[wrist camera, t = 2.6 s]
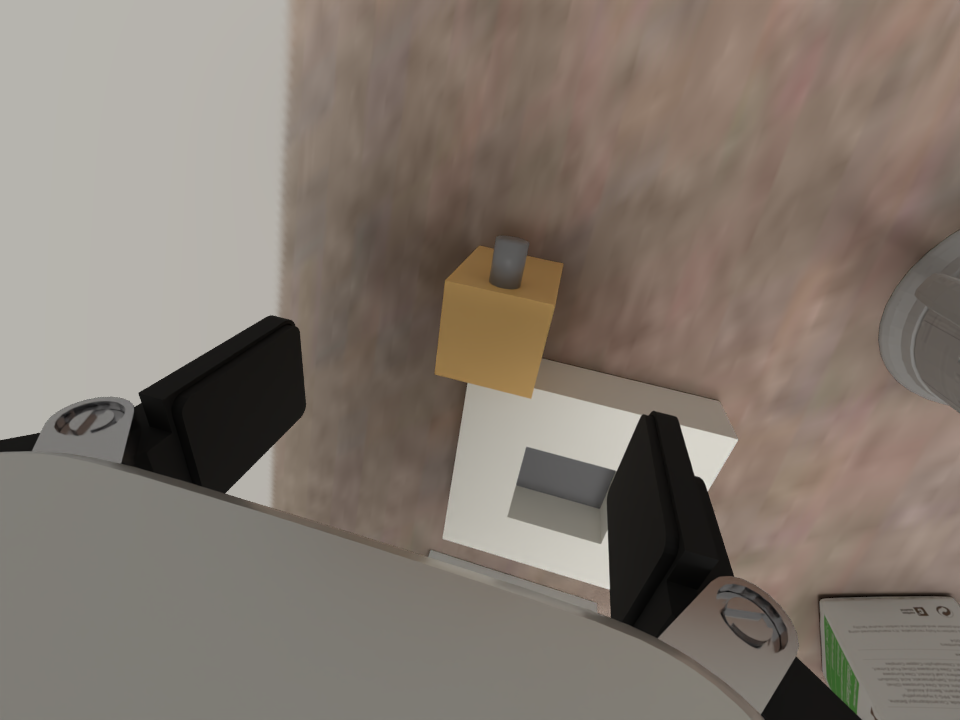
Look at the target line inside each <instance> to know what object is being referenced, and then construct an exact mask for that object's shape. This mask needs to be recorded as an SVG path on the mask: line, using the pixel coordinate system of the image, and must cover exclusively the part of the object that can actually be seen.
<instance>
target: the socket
mask: <svg viewBox="0 0 960 720" xmlns="http://www.w3.org/2000/svg"><path fill="white" fill-rule="evenodd" d="M652 411H656V412H660V413H664V414H668V415H672V416H676V417H677V418H678V420H679V424H680V427H681V430H682V434H683V437H684V441H685V444H686V448H687V451H688V455H689V458H690V462H691V465H692V468H693V472H694V475H695V476H697V477H700V478H701V479H703V481H704V483H705V485H706V488H707V491H708V490H709V488H710V487H711V485H712V483H713V482H714V480H715V478H716V477H717V475H718V473H719V472H720V470H721V468H722V466H723V465H724V463H725V461H726V460H727V458H728V456H729V455H730V453H731V451H732V450H733V448H734V446H735V445H736V443H737V441H738V440H739V439H738V437H737V435H736V433H735V431H734V429H733V427H732V425H731V423H730V421H729V419H728V417H727V415H726V413H725V411H724V409H723V407H722V405H721V403H720V401H716V400H712V399H708V398H704V397H700V396H696V395H692V394H687V393H683V392H679V391H675V390H671V389H667V388H663V387H658V386H654V385H650V384H646V383H642V382H638V381H634V380H630V379H625V378H621V377H617V376H613V375H609V374H605V373H601V372H596V371H592V370H588V369H584V368H580V367H576V366H572V365H567V364H563V363H559V362H555V361H551V360H547V359H543V358H542V359H541V363H540V367H539V371H538V375H537V378H536V382H535V386H534V390H533V394H532V398H531V399H530V398H526V397H522V396H518V395H514V394H510V393H506V392H502V391H498V390H494V389H490V388H486V387H483V386H479V385H475V384H471V383H468V384H467V390H466V396H465V402H464V409H463V415H462V421H461V427H460V433H459V440H458V446H457V452H456V458H455V464H454V471H453V477H452V483H451V489H450V495H449V502H448V508H447V514H446V520H445V526H444V533H443V539H445V540H448V541H451V542H455V543H458V544H461V545H465V546H468V547H471V548H474V549H478V550H481V551H484V552H488V553H491V554H494V555H497V556H501V557H504V558H507V559H511V560H514V561H517V562H521V563H524V564H527V565H530V566H534V567H537V568H540V569H544V570H547V571H550V572H553V573H557V574H560V575H563V576H567V577H570V578H573V579H576V580H580V581H583V582H586V583H590V584H593V585H596V586H599V587H603V588H606V589H609V590H610V579H609V552H608V525H607V495H608V491H609V488H610V486H611V483H612V481H613V479H614V476H615V474H616V472H617V470H618V467H619V465H620V463H621V460H622V458H623V456H624V453H625V451H626V449H627V447H628V444H629V442H630V440H631V437H632V435H633V433H634V431H635V428H636V426H637V424H638V421H639V419H640V417H641V416H642V415H643V414H645V415H649V414H650V413H651V412H652Z"/></svg>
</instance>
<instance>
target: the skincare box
mask: <svg viewBox="0 0 960 720" xmlns="http://www.w3.org/2000/svg"><path fill="white" fill-rule="evenodd" d="M819 603H820V631H821V646H822V671H823V675H824V677H825V679H826V682H827V684H828V686H829V688H830V689H831V690H832V691H833V692H834V693H835V694H836V695H837V696H838V697H839V698H840V699H841V700H842V701H843V702H844V703H845V704H846V705H847V706H848V707H849V708H850V709H851V710H853V711H854V712H855V713H856V714H857V715H858V716H859V717H860V718H861V719H862V720H960V606H959V604H958V603H957V601H956V600H955V599H954V598H953V597H939V596H906V597H851V598H825V599H821V600H820V602H819Z"/></svg>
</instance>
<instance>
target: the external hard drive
mask: <svg viewBox="0 0 960 720" xmlns="http://www.w3.org/2000/svg"><path fill="white" fill-rule="evenodd" d="M428 557H430V558H433V559H436V560H439V561H442V562H445V563H448V564H452V565H455V566H458V567H461V568H464V569H467V570H470V571H474V572H477V573H480V574H483V575H486V576H489V577H492V578H495V579H499V580H502V581H505V582H508V583H511V584H514V585H517V586H520V587H523V588H526V589H529V590H532V591H535V592H538V593H541V594H544V595H547V596H550V597H553V598H556V599H559V600H562V601H565V602H568V603H571V604H574V605H577V606H580V607H583V608H586V609H589V610H591V611H594V612H597V603H596V602H592V601H589V600H586V599H583V598H580V597H577V596H574V595H571V594H568V593H564V592H561V591H558V590H555V589H552V588H549V587H546V586H543V585H540V584H536V583H533V582H530V581H527V580H524V579H521V578H518V577H515V576H511V575H508V574H505V573H502V572H499V571H496V570H493V569H490V568H486V567H483V566H480V565H477V564H474V563H471V562H468V561H465V560H461V559H458V558H455V557H452V556H449V555H446V554H443V553H440V552H437V551H433V550H430V553H429V555H428Z"/></svg>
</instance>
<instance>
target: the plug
mask: <svg viewBox="0 0 960 720" xmlns="http://www.w3.org/2000/svg"><path fill="white" fill-rule="evenodd" d="M528 247H529V242H528V241H526V240H524V239H521V238H517V237H512V236H497V237H496V241H495V247H494V249H493V248H488V247H483V246H478V247H477V248H476V249H475V250H474V251H473V252H472V254H471V255H470V256H469V257H468V258H467V259H466V260H465V261H464V262H463V263H462V264H461V265H460V266H459V267H458V268H457V269H456V270H455V271H454V272H453V273H452V274H451V275H450V276H449V277H448V278H447V279H446V280H445V286H444V295H443V303H442V312H441V321H440V330H439V339H438V348H437V357H436V365H435V375H439V376H443V377H447V378H451V379H455V380H459V381H463V382H467V383H471V384H475V385H479V386H483V387H486V388H490V389H494V390H498V391H502V392H506V393H510V394H514V395H518V396H522V397H526V398H530V399H531V398H532V394H533V390H534V386H535V382H536V378H537V375H538V371H539V367H540V363H541V359H542V355H543V351H544V347H545V344H546V340H547V336H548V332H549V328H550V324H551V320H552V316H553V313H554V309H555V305H556V300H557V294H558V289H559V284H560V279H561V274H562V269H563V263H559V262H554V261H549V260H545V259H540V258H535V257H530V256H527V252H528Z"/></svg>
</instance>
